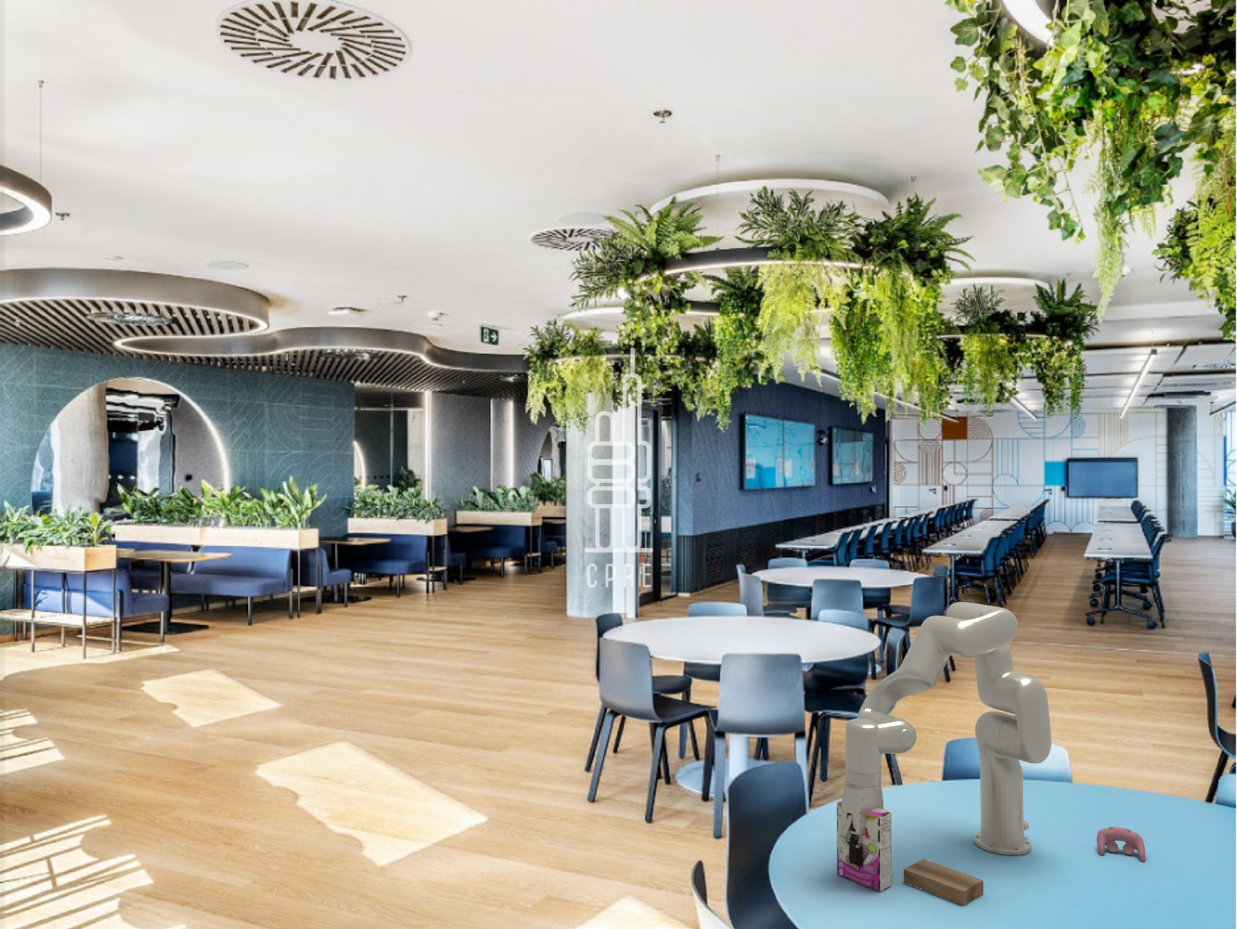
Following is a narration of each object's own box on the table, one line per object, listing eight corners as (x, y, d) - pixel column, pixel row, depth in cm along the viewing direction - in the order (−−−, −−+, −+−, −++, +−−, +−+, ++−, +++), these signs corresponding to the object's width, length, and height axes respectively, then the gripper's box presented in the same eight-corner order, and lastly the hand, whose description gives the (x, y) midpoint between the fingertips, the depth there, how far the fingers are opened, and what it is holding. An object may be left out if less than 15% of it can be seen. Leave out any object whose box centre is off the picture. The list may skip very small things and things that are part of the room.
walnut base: (923, 872, 200) (923, 858, 200) (983, 894, 189) (983, 880, 189) (903, 882, 195) (903, 868, 195) (963, 906, 184) (963, 891, 184)
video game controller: (1144, 863, 208) (1142, 831, 211) (1146, 861, 204) (1144, 829, 207) (1096, 856, 212) (1095, 825, 215) (1097, 854, 208) (1096, 822, 212)
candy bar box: (835, 876, 198) (835, 801, 198) (848, 869, 201) (848, 796, 202) (880, 893, 190) (879, 815, 190) (893, 886, 193) (892, 810, 193)
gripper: (871, 765, 204) (871, 845, 204) (825, 781, 193) (825, 866, 193) (900, 773, 199) (900, 855, 198) (854, 790, 188) (855, 877, 187)
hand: (863, 859), depth 196 cm, fingers closed on candy bar box, 5 cm apart
